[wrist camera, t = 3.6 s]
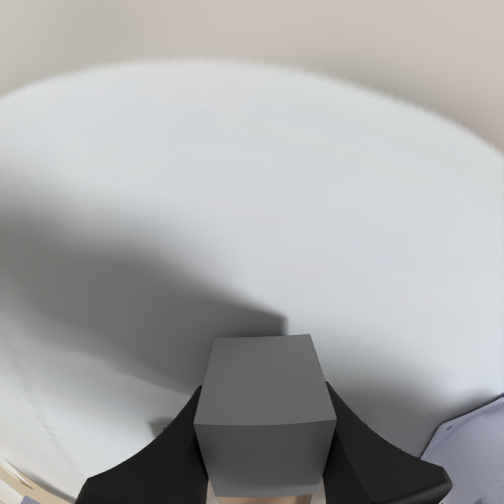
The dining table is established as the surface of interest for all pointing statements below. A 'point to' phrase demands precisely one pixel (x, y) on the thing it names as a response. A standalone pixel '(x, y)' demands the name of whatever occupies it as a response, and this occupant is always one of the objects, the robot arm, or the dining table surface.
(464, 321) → the dining table surface
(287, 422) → the block
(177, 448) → the robot arm
